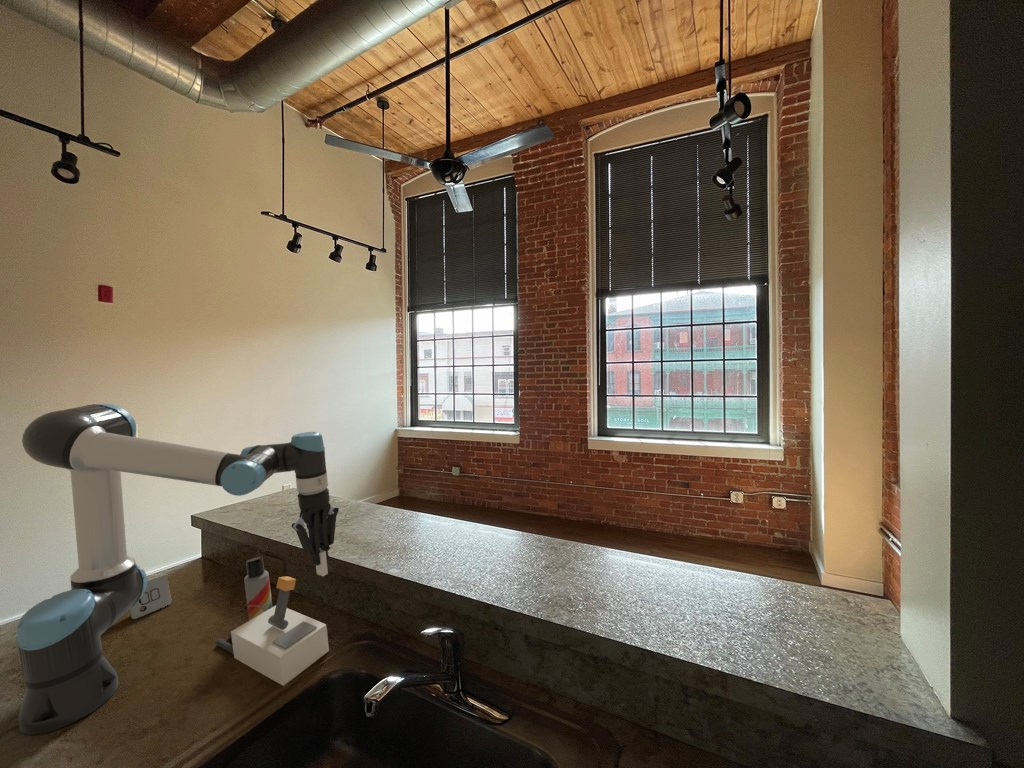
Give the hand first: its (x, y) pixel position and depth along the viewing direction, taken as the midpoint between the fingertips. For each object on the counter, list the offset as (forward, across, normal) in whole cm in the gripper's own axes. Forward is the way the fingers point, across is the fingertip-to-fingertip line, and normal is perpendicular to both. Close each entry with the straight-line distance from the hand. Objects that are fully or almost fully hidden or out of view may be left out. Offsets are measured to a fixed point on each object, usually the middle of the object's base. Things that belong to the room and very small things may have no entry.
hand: (322, 573), depth 115 cm
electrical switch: (+14, -19, +56) cm, 61 cm away
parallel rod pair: (+14, -17, +15) cm, 26 cm away
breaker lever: (+6, -13, 0) cm, 14 cm away
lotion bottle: (+14, -9, +15) cm, 23 cm away
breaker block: (+14, -13, 0) cm, 19 cm away
